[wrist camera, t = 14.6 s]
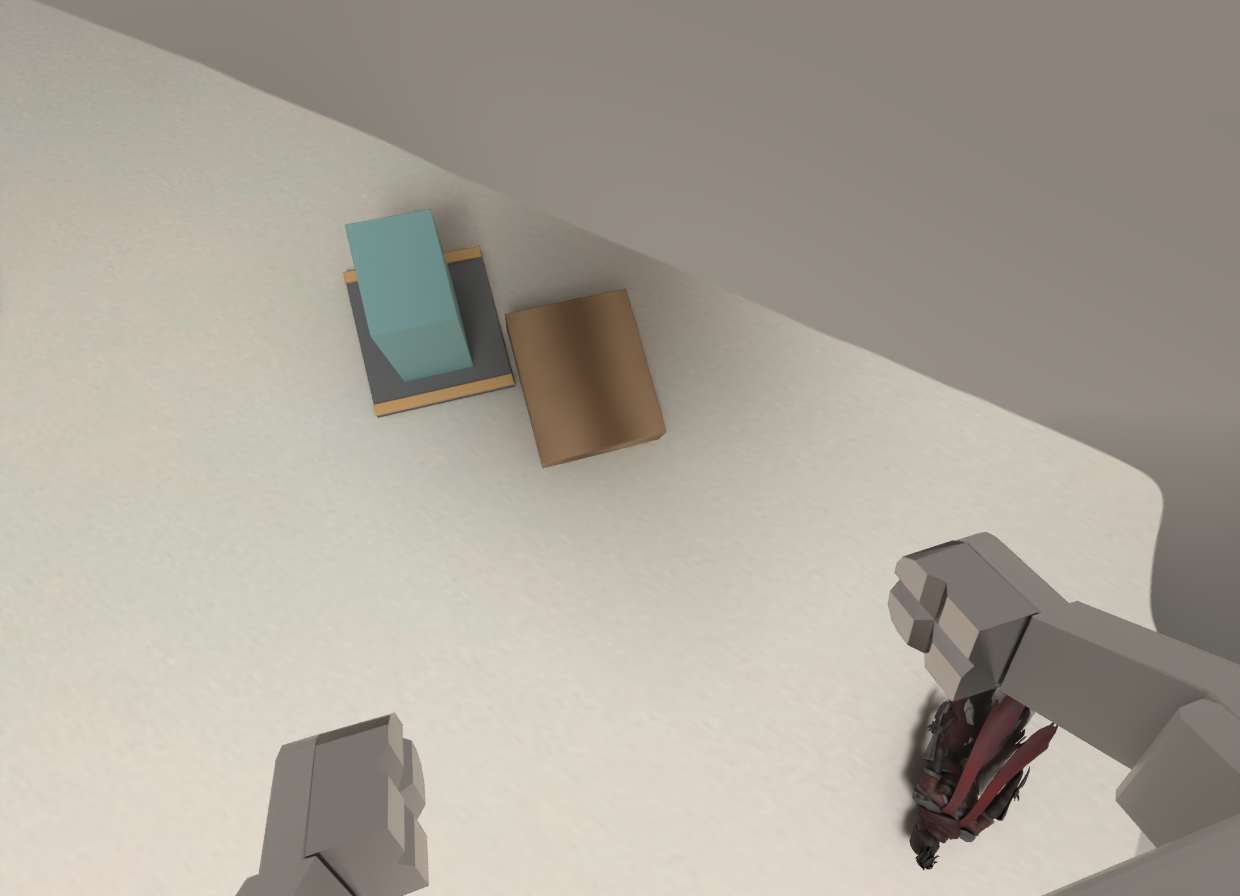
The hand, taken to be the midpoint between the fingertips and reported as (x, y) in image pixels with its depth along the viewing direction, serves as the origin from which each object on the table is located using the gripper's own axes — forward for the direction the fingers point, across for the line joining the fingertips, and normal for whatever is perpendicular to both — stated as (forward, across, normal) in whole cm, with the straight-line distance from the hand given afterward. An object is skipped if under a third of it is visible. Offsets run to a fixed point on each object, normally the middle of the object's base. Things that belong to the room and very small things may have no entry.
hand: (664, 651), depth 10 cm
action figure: (+13, -26, +41) cm, 50 cm away
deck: (+36, -5, +17) cm, 40 cm away
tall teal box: (+40, +5, +12) cm, 42 cm away
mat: (+40, +5, +12) cm, 43 cm away
